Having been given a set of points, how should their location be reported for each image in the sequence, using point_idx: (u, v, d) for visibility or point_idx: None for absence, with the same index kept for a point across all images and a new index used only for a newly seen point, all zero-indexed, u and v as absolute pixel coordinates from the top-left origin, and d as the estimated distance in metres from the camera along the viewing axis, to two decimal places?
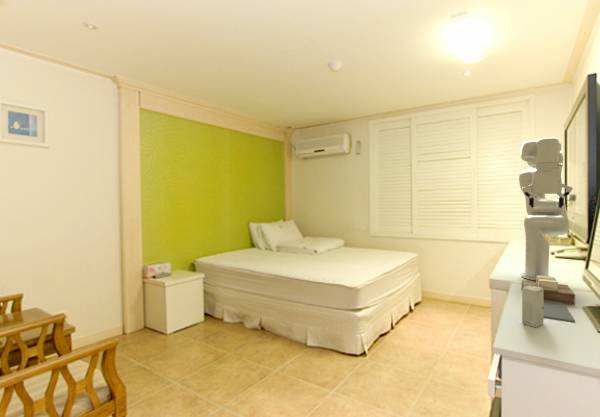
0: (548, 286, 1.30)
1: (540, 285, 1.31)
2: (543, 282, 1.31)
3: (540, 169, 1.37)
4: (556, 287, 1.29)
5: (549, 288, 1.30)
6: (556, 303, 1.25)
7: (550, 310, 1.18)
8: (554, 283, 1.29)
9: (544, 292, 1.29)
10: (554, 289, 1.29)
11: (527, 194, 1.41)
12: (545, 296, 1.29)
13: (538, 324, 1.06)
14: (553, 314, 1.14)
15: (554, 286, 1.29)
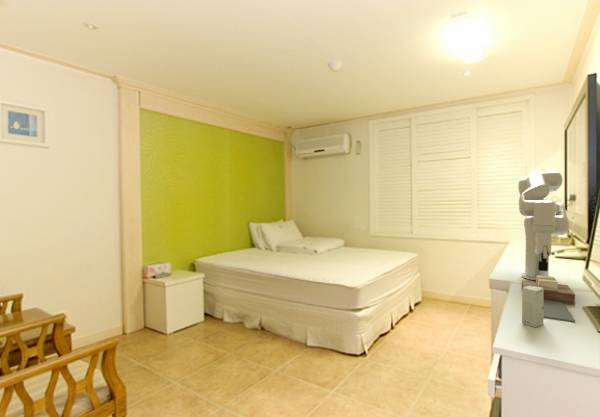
0: (548, 286, 1.30)
1: (540, 285, 1.31)
2: (543, 282, 1.31)
3: (552, 232, 1.39)
4: (556, 287, 1.29)
5: (549, 288, 1.30)
6: (556, 303, 1.25)
7: (550, 310, 1.18)
8: (554, 283, 1.29)
9: (544, 292, 1.29)
10: (554, 289, 1.29)
11: None
12: (545, 296, 1.29)
13: (538, 324, 1.06)
14: (553, 314, 1.14)
15: (554, 286, 1.29)
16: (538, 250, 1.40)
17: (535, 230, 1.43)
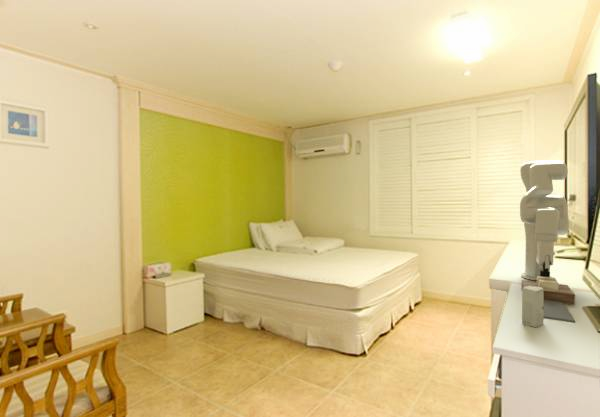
0: (548, 287, 1.29)
1: (540, 286, 1.30)
2: (543, 283, 1.30)
3: (554, 240, 1.34)
4: (557, 288, 1.28)
5: (550, 289, 1.29)
6: (556, 303, 1.25)
7: (550, 310, 1.18)
8: (555, 284, 1.28)
9: (544, 292, 1.29)
10: (555, 290, 1.28)
11: None
12: (545, 296, 1.29)
13: (538, 324, 1.06)
14: (553, 314, 1.14)
15: (555, 287, 1.28)
16: (540, 260, 1.35)
17: (537, 239, 1.38)
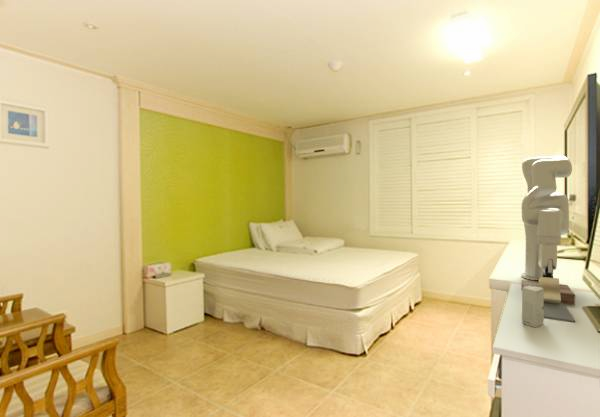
0: (550, 301, 1.25)
1: None
2: (545, 299, 1.25)
3: (558, 243, 1.27)
4: (558, 302, 1.24)
5: (551, 302, 1.25)
6: None
7: (550, 310, 1.18)
8: (557, 300, 1.23)
9: None
10: (556, 303, 1.25)
11: None
12: None
13: (538, 324, 1.06)
14: (553, 314, 1.14)
15: (556, 301, 1.24)
16: (542, 264, 1.28)
17: (539, 241, 1.31)
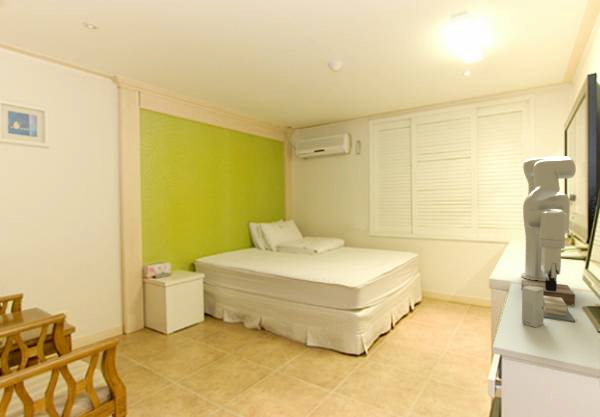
0: None
1: None
2: None
3: (562, 247, 1.21)
4: None
5: None
6: None
7: None
8: None
9: (544, 292, 1.29)
10: None
11: None
12: None
13: (538, 324, 1.06)
14: (553, 314, 1.14)
15: None
16: (545, 268, 1.22)
17: (542, 245, 1.24)
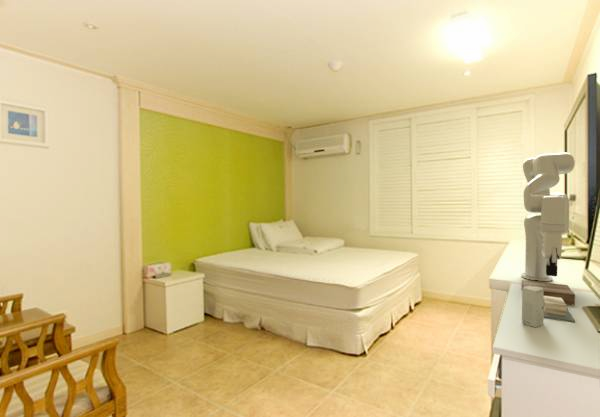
0: None
1: None
2: None
3: (563, 231, 1.19)
4: None
5: None
6: None
7: None
8: None
9: (544, 292, 1.29)
10: None
11: None
12: None
13: (538, 324, 1.06)
14: (553, 314, 1.14)
15: None
16: (546, 253, 1.21)
17: (543, 229, 1.23)
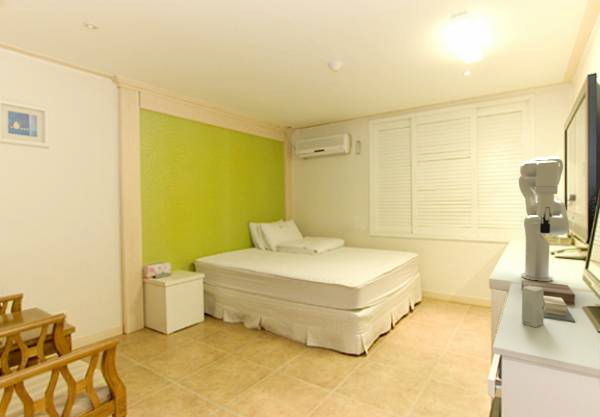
0: None
1: None
2: None
3: (555, 192, 1.35)
4: None
5: None
6: None
7: None
8: None
9: (544, 292, 1.29)
10: None
11: None
12: None
13: (538, 324, 1.06)
14: (553, 314, 1.14)
15: None
16: (540, 212, 1.36)
17: (537, 192, 1.38)
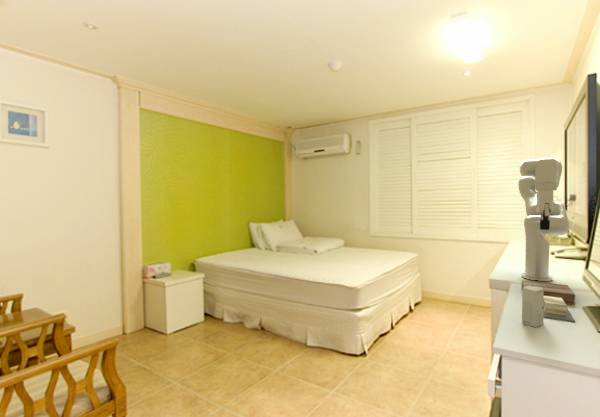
0: None
1: None
2: None
3: (554, 189, 1.36)
4: None
5: None
6: None
7: None
8: None
9: (544, 292, 1.29)
10: None
11: None
12: None
13: (538, 324, 1.06)
14: (553, 314, 1.14)
15: None
16: (540, 208, 1.37)
17: (537, 188, 1.40)
